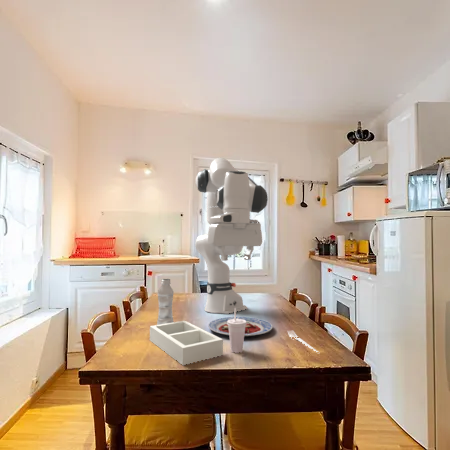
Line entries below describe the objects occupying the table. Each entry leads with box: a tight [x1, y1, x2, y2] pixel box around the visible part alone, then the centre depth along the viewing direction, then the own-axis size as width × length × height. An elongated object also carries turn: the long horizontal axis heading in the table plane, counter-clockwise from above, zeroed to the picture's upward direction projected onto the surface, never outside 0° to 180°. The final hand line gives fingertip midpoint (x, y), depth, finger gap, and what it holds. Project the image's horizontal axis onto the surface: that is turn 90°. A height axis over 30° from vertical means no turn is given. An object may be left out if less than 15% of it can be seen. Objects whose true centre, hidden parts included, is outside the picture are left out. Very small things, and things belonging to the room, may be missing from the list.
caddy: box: [149, 320, 224, 366], centre depth 105 cm, size 26×14×5 cm, turn 34°
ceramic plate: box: [208, 316, 273, 338], centre depth 125 cm, size 26×26×3 cm
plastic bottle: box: [156, 278, 174, 325], centre depth 126 cm, size 6×7×20 cm
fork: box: [287, 330, 319, 353], centre depth 110 cm, size 3×20×2 cm, turn 16°
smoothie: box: [227, 308, 247, 354], centre depth 102 cm, size 6×6×14 cm
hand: (236, 260), depth 103 cm, fingers open, 8 cm apart
